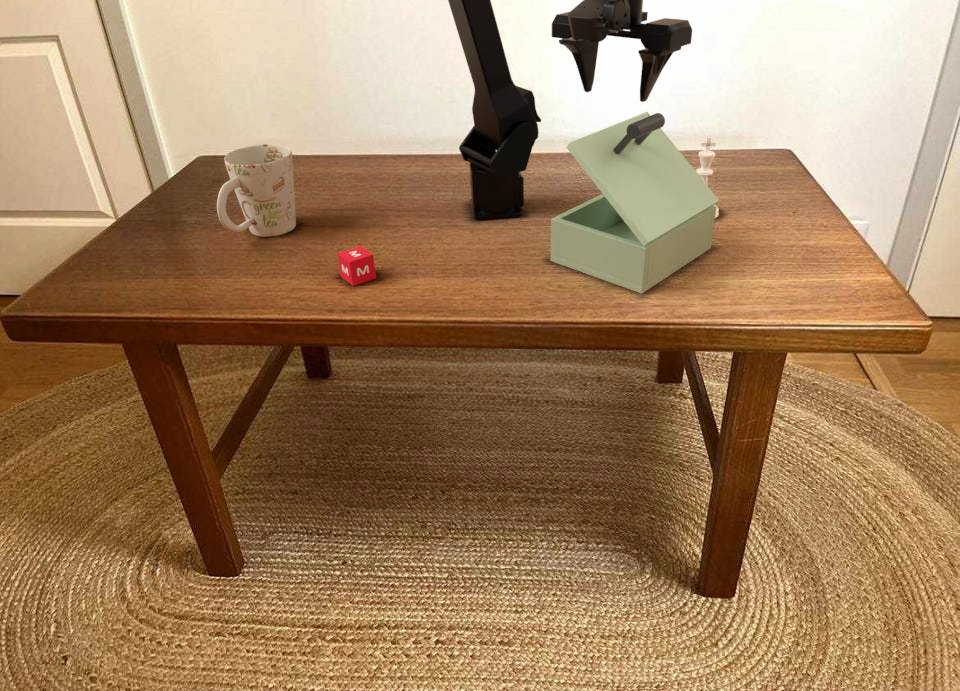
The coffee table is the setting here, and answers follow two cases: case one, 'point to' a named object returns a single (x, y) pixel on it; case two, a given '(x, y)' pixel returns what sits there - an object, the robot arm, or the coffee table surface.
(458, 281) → the coffee table surface
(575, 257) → the chest
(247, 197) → the mug
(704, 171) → the chess piece
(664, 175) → the lid
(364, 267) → the red letter cube
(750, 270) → the coffee table surface
